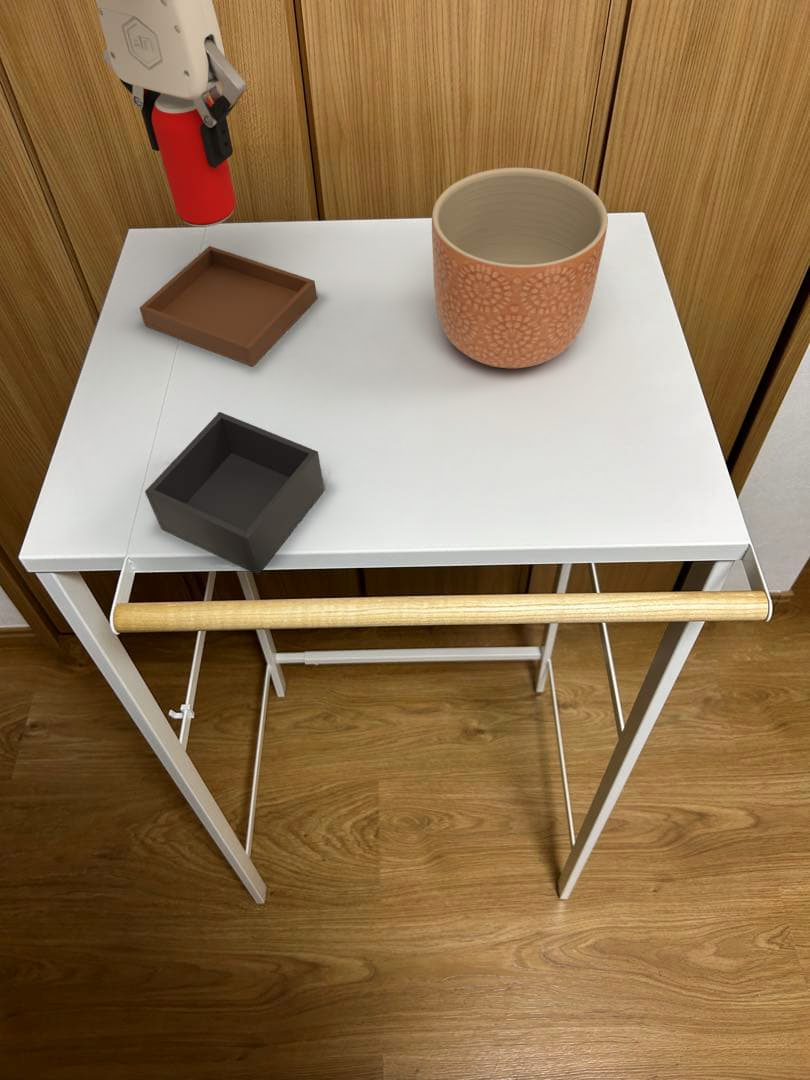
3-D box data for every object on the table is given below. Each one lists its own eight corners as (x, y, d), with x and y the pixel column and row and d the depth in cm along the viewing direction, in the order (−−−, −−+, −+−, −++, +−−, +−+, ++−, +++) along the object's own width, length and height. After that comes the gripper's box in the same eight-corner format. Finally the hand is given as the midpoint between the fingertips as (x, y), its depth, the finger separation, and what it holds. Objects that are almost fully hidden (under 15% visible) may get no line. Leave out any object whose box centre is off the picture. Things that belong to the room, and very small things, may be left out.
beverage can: (168, 228, 86) (134, 110, 76) (194, 195, 89) (165, 79, 79) (223, 236, 84) (195, 118, 75) (247, 203, 88) (223, 85, 78)
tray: (145, 326, 96) (138, 307, 94) (213, 264, 103) (209, 245, 101) (252, 366, 91) (248, 348, 89) (317, 299, 98) (314, 280, 96)
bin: (161, 529, 78) (144, 491, 74) (231, 451, 84) (219, 411, 79) (258, 575, 75) (247, 538, 70) (324, 490, 81) (318, 451, 76)
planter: (582, 291, 97) (603, 167, 85) (589, 393, 87) (613, 269, 75) (437, 287, 99) (437, 165, 86) (427, 387, 89) (425, 264, 76)
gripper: (27, -65, 68) (99, 150, 82) (197, -30, 62) (242, 193, 77) (90, -95, 71) (148, 115, 86) (255, -65, 66) (287, 154, 80)
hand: (192, 150), depth 81 cm, fingers closed on beverage can, 6 cm apart
